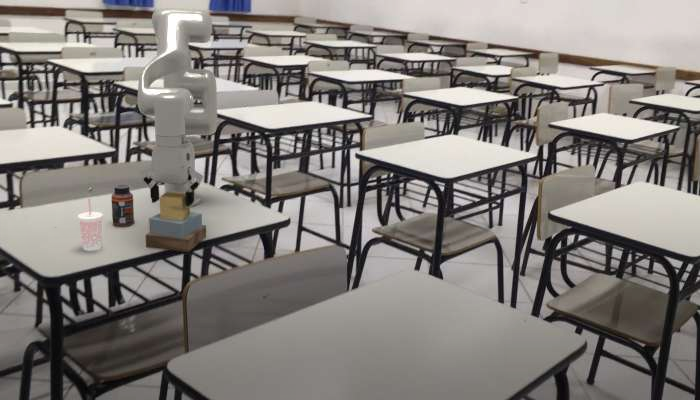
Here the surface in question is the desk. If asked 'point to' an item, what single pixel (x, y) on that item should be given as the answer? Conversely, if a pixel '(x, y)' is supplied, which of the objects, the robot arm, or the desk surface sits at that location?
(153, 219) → the tower top
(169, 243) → the tower base
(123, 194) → the supplement bottle
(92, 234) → the beverage cup
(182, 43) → the robot arm
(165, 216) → the ochre cube
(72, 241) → the desk surface
